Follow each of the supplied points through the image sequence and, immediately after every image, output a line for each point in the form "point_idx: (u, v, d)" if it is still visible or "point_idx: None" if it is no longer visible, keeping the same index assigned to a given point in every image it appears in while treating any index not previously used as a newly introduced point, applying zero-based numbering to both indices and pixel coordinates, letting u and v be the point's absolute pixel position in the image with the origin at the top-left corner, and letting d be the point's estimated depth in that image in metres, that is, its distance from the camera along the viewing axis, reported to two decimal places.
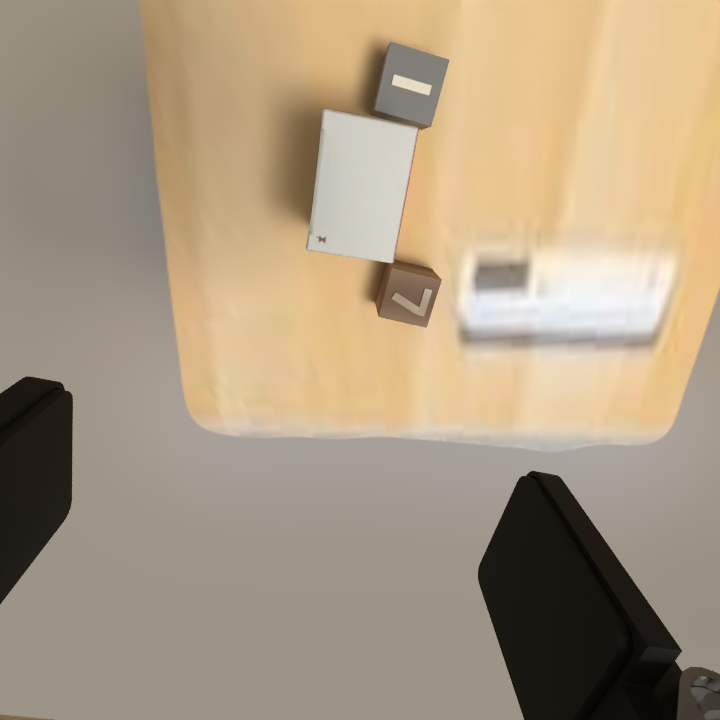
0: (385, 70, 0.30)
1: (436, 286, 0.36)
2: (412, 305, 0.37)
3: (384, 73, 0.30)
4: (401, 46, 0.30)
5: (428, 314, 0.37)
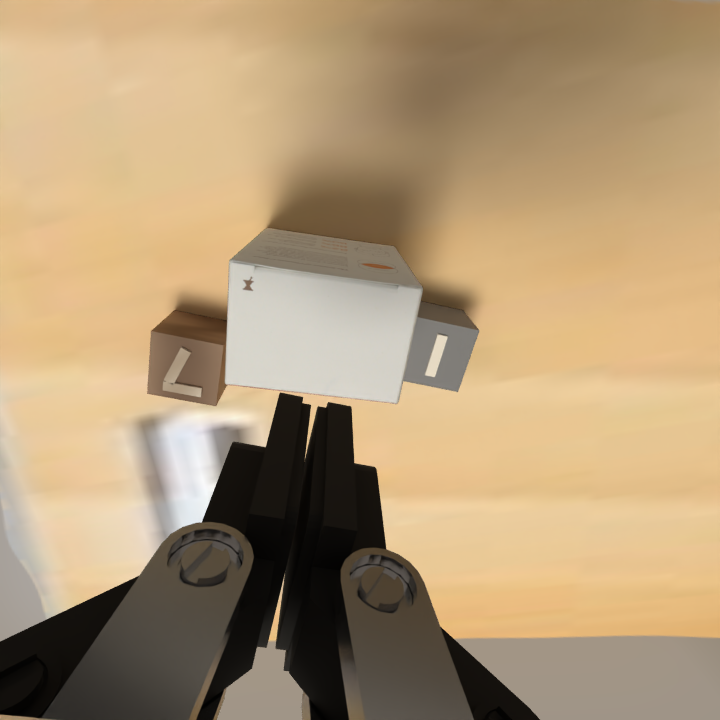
0: (452, 326, 0.26)
1: (206, 401, 0.28)
2: (176, 374, 0.27)
3: (449, 325, 0.26)
4: (473, 342, 0.27)
5: (166, 394, 0.27)
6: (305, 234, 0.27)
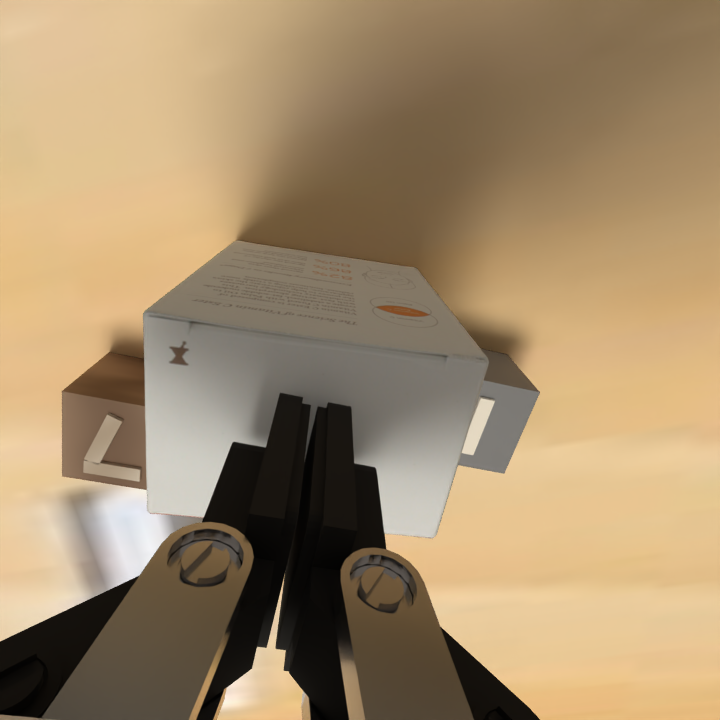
0: (501, 386, 0.18)
1: None
2: (102, 451, 0.18)
3: (497, 385, 0.18)
4: (530, 408, 0.19)
5: (90, 477, 0.19)
6: (290, 250, 0.19)
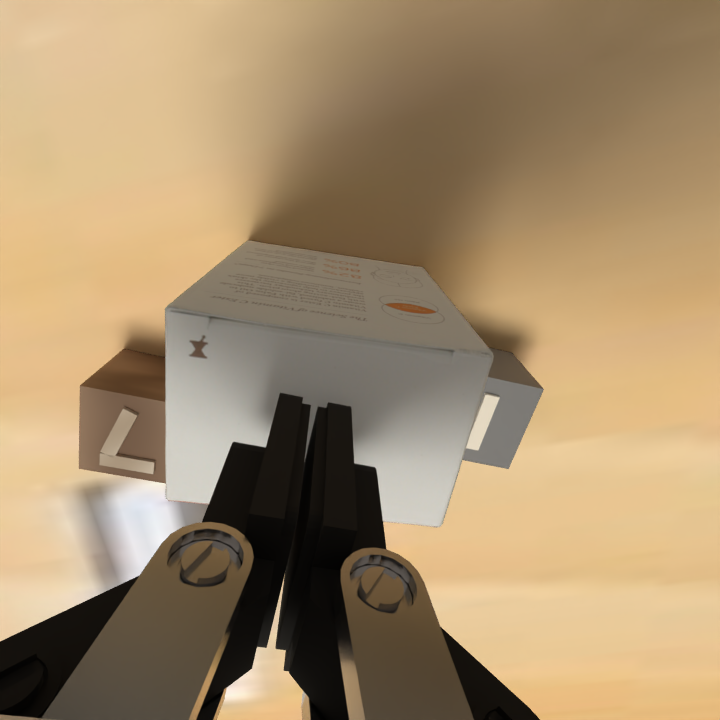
0: (505, 383, 0.19)
1: (161, 478, 0.20)
2: (117, 444, 0.19)
3: (501, 382, 0.19)
4: (534, 404, 0.19)
5: (105, 470, 0.20)
6: (301, 250, 0.19)
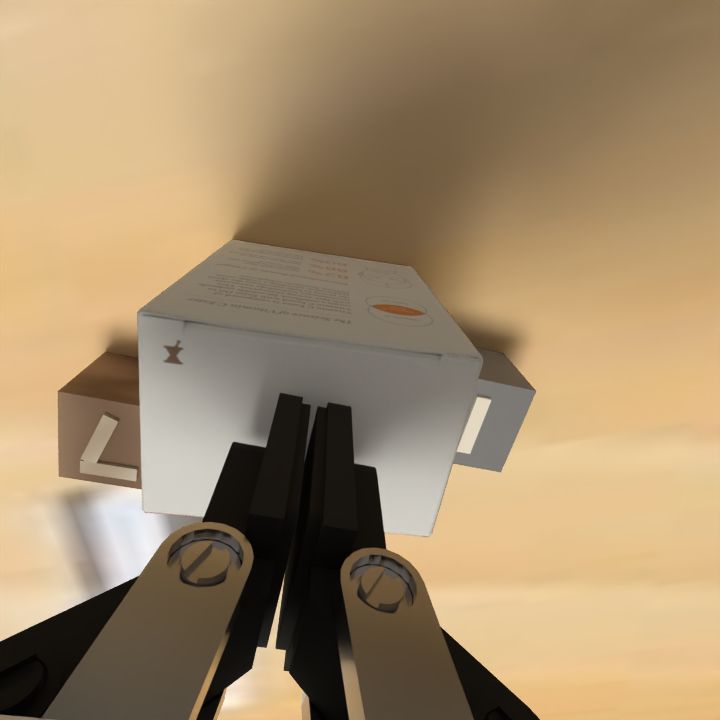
0: (497, 385, 0.18)
1: None
2: (98, 451, 0.18)
3: (493, 384, 0.18)
4: (527, 406, 0.19)
5: (86, 477, 0.19)
6: (287, 250, 0.19)
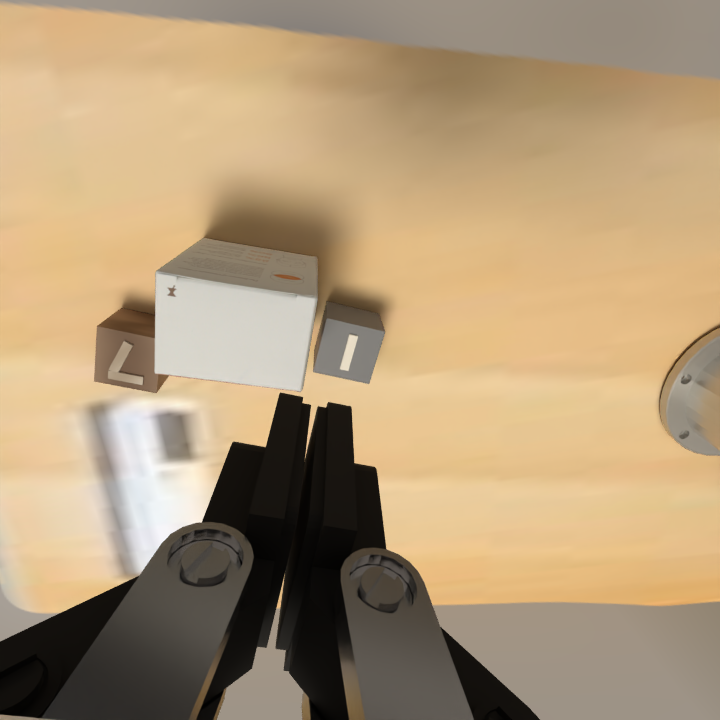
0: (361, 327, 0.31)
1: (147, 388, 0.31)
2: (119, 365, 0.30)
3: (359, 327, 0.31)
4: (381, 341, 0.31)
5: (111, 382, 0.31)
6: (237, 245, 0.31)
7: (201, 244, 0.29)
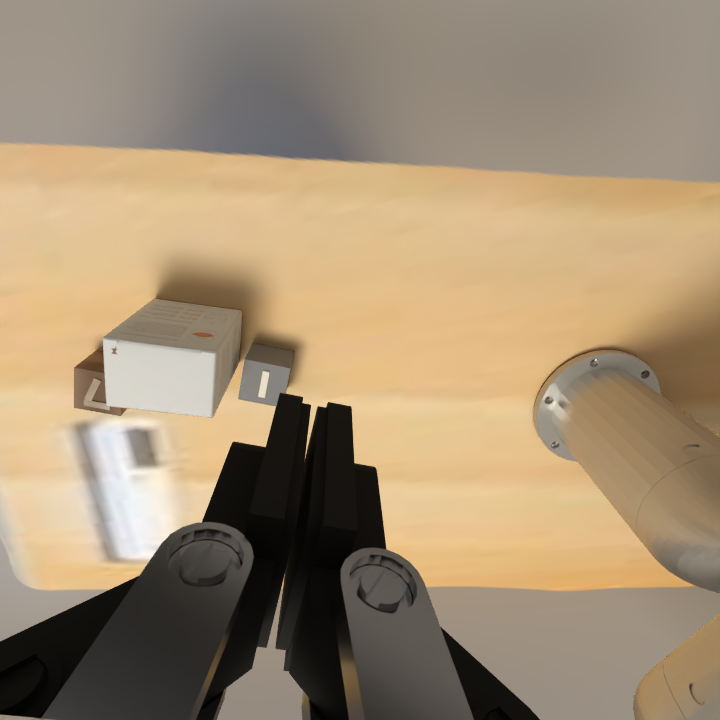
0: (272, 365, 0.41)
1: (114, 412, 0.42)
2: (92, 395, 0.41)
3: (270, 365, 0.41)
4: (288, 375, 0.41)
5: (86, 408, 0.41)
6: (178, 304, 0.41)
7: (149, 306, 0.39)
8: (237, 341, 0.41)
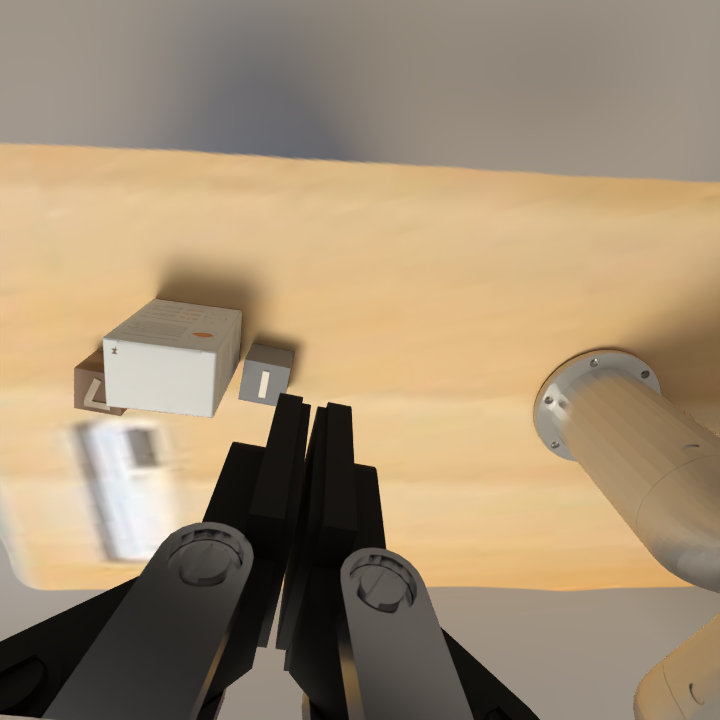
0: (272, 365, 0.41)
1: (114, 412, 0.42)
2: (92, 395, 0.41)
3: (270, 365, 0.41)
4: (288, 375, 0.41)
5: (87, 408, 0.41)
6: (178, 304, 0.41)
7: (149, 306, 0.39)
8: (237, 341, 0.42)
